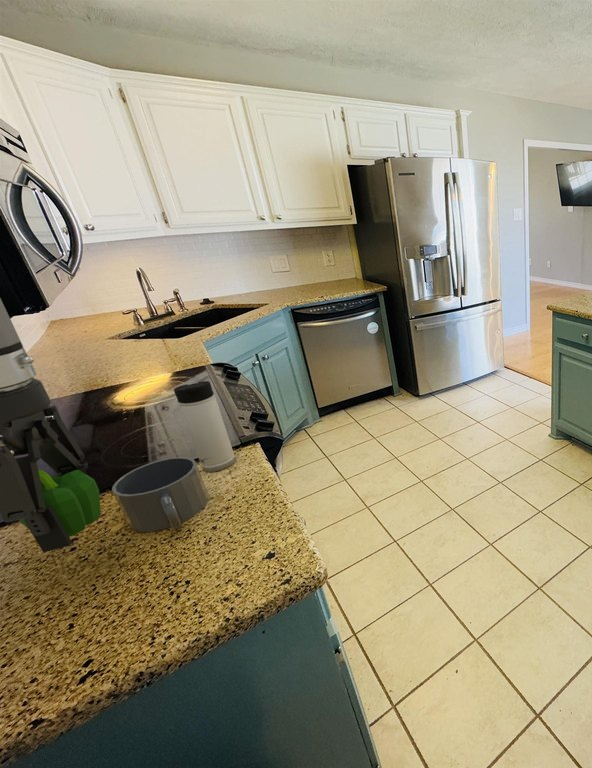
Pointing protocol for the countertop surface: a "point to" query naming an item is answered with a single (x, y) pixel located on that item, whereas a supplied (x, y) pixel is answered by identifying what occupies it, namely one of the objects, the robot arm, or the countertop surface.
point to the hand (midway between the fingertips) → (72, 526)
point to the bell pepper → (71, 499)
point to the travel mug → (205, 425)
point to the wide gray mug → (161, 494)
